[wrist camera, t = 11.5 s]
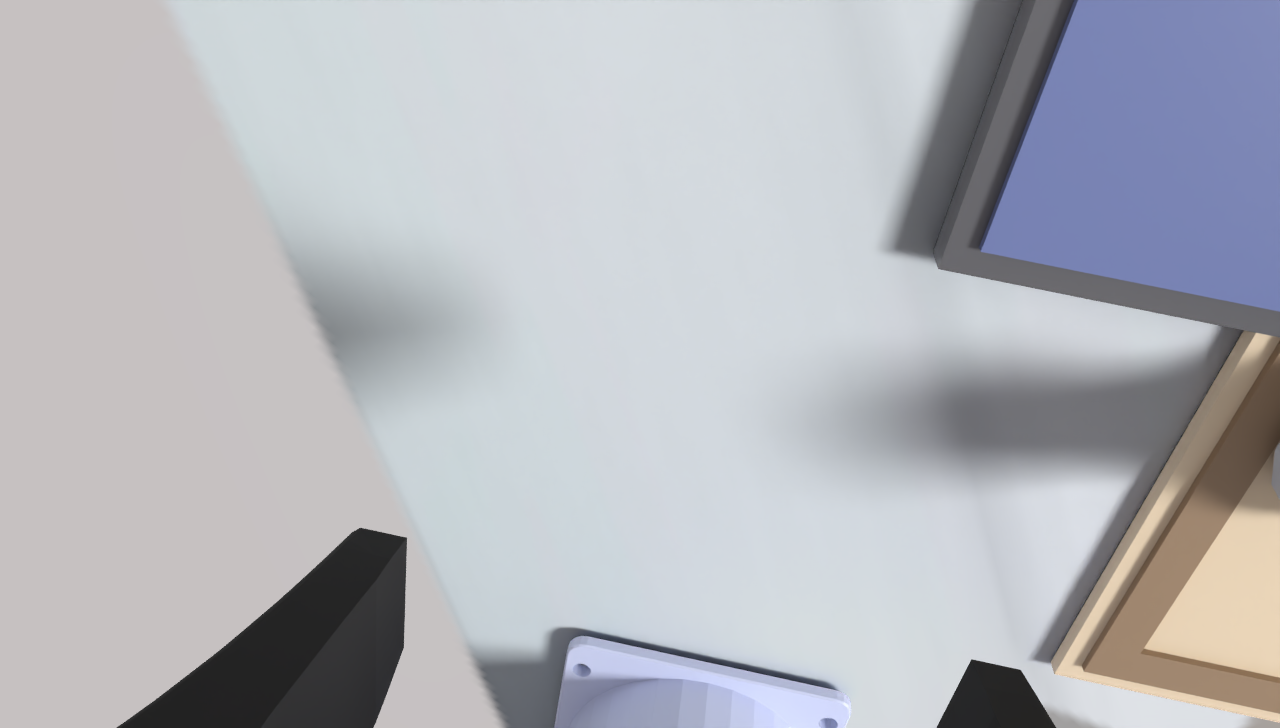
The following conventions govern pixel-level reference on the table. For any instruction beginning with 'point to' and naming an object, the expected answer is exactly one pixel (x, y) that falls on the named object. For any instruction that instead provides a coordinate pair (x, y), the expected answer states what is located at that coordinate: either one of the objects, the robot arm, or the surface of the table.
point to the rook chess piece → (1276, 471)
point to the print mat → (1199, 560)
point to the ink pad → (1131, 160)
